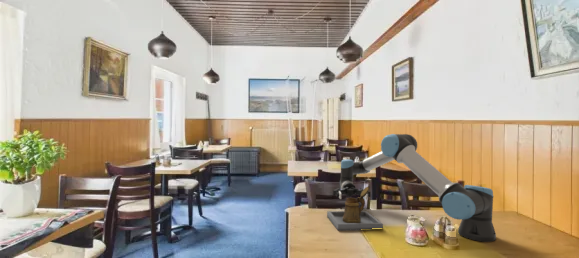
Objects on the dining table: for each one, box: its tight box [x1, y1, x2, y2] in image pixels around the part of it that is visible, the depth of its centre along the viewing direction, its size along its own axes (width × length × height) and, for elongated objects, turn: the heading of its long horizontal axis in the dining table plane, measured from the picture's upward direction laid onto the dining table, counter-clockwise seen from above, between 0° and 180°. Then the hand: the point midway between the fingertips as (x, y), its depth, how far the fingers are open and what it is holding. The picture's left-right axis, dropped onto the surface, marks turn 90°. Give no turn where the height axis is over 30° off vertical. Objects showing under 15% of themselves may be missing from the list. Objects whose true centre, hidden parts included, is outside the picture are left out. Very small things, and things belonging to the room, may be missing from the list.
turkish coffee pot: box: [343, 185, 371, 223], centre depth 165 cm, size 9×14×18 cm, turn 93°
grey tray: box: [326, 210, 384, 232], centre depth 165 cm, size 22×22×3 cm
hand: (353, 196), depth 169 cm, fingers open, 13 cm apart
